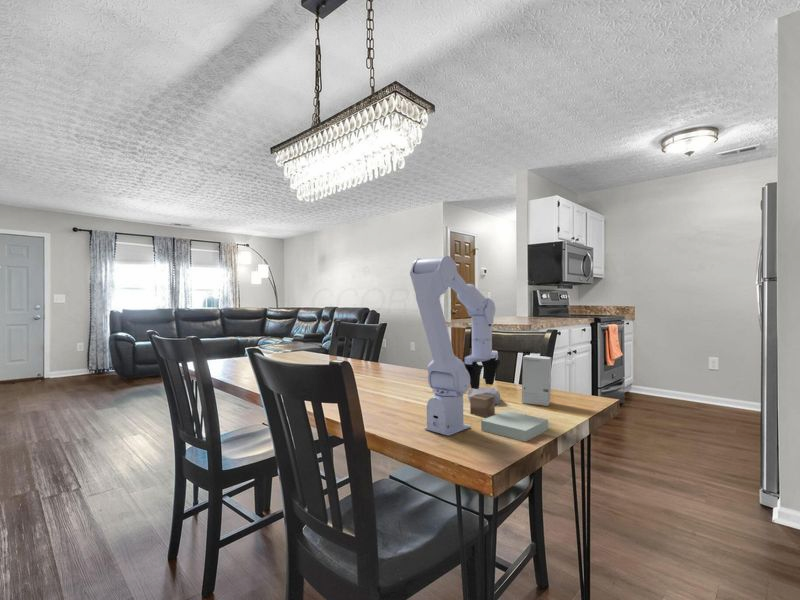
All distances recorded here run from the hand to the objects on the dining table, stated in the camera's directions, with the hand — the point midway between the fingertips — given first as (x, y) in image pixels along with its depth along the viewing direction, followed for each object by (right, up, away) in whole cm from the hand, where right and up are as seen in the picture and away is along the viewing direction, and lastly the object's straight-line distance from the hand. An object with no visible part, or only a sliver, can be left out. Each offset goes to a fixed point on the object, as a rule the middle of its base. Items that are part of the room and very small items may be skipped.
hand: (482, 386), depth 115 cm
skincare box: (+20, -8, +11) cm, 24 cm away
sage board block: (+5, -8, -15) cm, 18 cm away
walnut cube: (0, -8, 0) cm, 8 cm away
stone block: (+3, -8, +16) cm, 18 cm away
